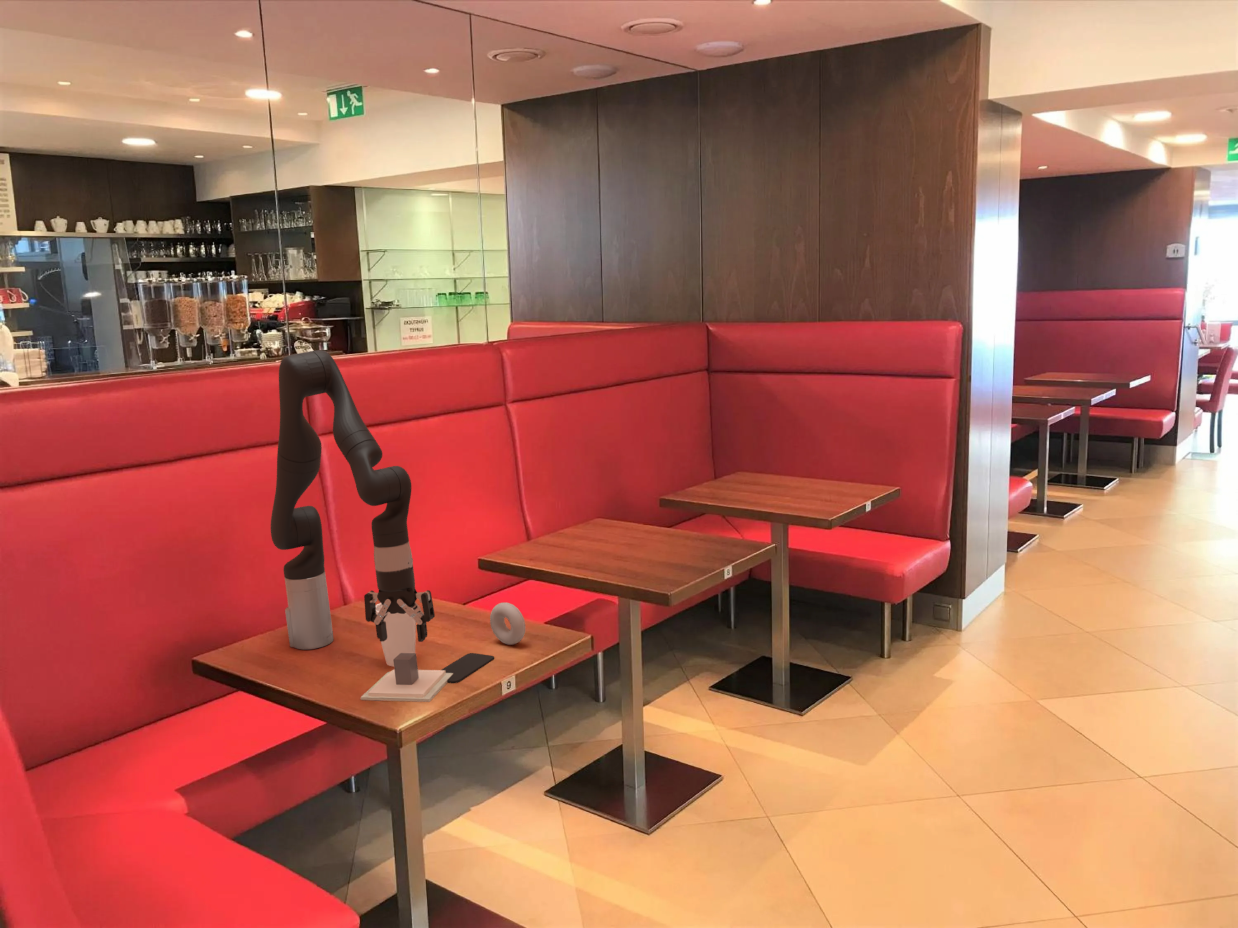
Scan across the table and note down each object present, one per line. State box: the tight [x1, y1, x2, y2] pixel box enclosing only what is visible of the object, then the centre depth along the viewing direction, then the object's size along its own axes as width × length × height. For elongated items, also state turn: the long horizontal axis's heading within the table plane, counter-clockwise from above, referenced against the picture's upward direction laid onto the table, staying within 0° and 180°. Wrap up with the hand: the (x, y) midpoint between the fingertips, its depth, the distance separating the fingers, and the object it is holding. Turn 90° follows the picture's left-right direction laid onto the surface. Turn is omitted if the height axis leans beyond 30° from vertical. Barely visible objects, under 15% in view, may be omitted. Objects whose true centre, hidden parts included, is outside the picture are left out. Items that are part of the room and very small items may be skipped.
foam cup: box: [376, 602, 417, 667], centre depth 216 cm, size 10×9×13 cm
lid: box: [368, 652, 446, 698], centre depth 201 cm, size 12×12×6 cm
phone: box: [441, 652, 495, 684], centre depth 211 cm, size 7×1×15 cm
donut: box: [489, 602, 526, 646], centre depth 222 cm, size 10×4×10 cm, turn 52°
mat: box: [360, 671, 453, 703], centre depth 202 cm, size 15×13×1 cm
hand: (402, 640), depth 200 cm, fingers open, 8 cm apart
